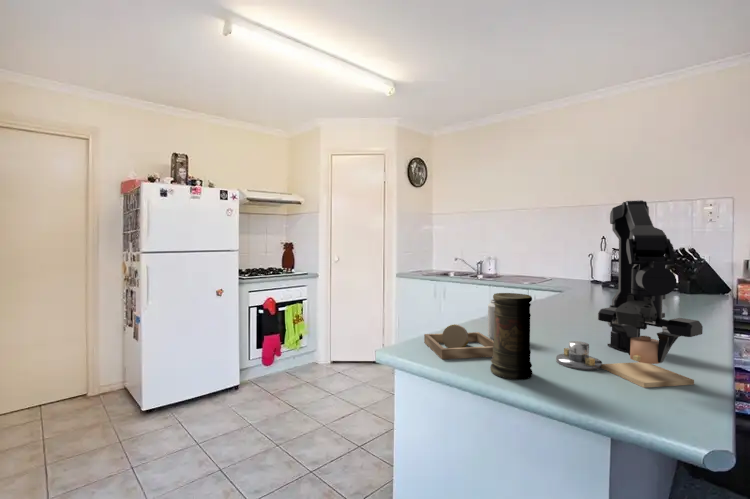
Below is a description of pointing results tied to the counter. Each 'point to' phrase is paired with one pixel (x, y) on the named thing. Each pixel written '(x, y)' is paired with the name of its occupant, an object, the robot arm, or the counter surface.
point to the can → (491, 319)
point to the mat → (647, 374)
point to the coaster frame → (464, 352)
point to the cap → (644, 349)
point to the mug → (455, 336)
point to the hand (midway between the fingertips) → (645, 358)
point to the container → (512, 336)
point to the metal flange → (578, 357)
